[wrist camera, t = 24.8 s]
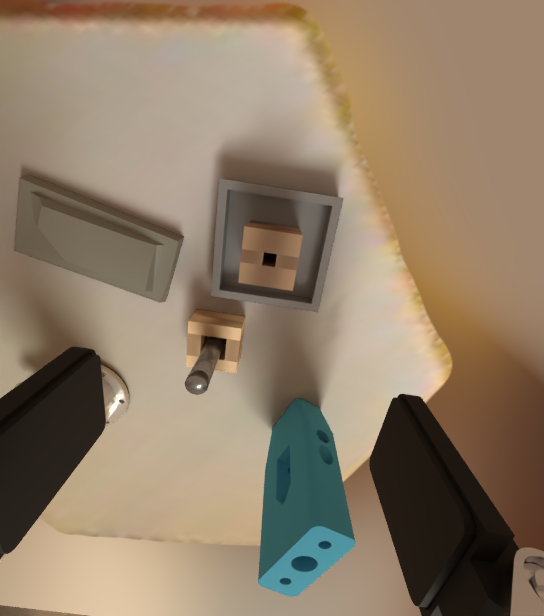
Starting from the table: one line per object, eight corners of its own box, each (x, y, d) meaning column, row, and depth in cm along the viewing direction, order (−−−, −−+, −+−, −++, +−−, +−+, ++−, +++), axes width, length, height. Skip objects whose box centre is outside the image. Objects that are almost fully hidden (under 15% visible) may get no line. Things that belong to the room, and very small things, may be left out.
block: (302, 388, 46) (316, 523, 27) (328, 402, 46) (359, 542, 28) (265, 437, 50) (254, 583, 31) (290, 449, 50) (294, 598, 32)
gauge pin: (210, 341, 43) (184, 393, 32) (211, 326, 42) (184, 374, 31) (227, 343, 43) (206, 396, 32) (228, 328, 42) (208, 377, 31)
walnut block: (245, 267, 38) (238, 282, 31) (251, 220, 35) (244, 226, 29) (291, 274, 38) (292, 290, 31) (299, 227, 36) (302, 235, 29)
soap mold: (31, 173, 36) (6, 171, 32) (185, 235, 38) (176, 239, 35) (25, 249, 39) (2, 254, 36) (166, 302, 42) (157, 311, 38)
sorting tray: (215, 288, 40) (210, 296, 37) (224, 179, 35) (219, 178, 32) (315, 303, 40) (317, 312, 37) (338, 197, 35) (343, 198, 32)
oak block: (194, 351, 44) (186, 366, 40) (196, 309, 41) (188, 320, 37) (240, 358, 44) (236, 373, 40) (245, 316, 41) (241, 328, 37)
